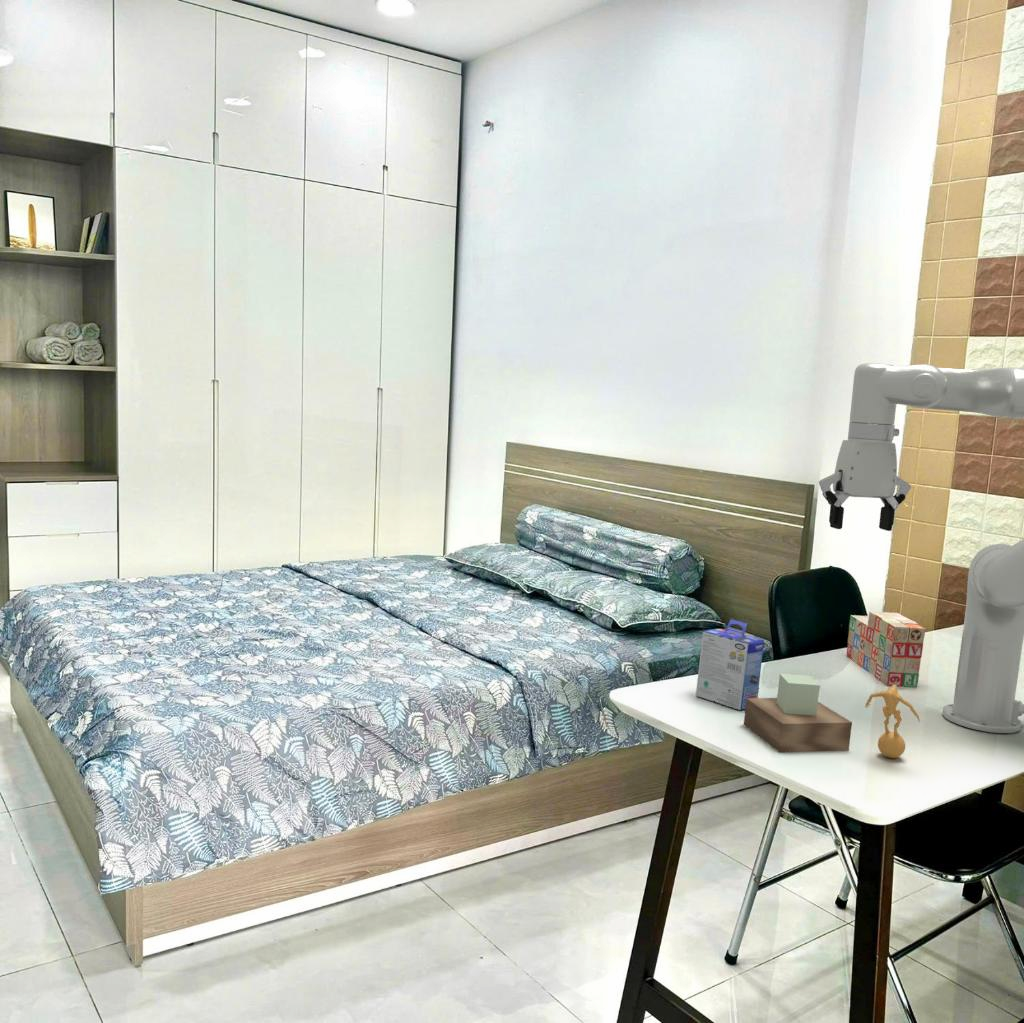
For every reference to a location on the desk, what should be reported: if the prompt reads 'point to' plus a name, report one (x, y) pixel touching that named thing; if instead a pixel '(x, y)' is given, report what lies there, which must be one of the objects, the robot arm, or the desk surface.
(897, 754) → the figurine
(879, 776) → the desk surface
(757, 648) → the ink cartridge box
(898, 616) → the stack of blocks
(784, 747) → the walnut block
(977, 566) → the robot arm
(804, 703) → the sage cube
